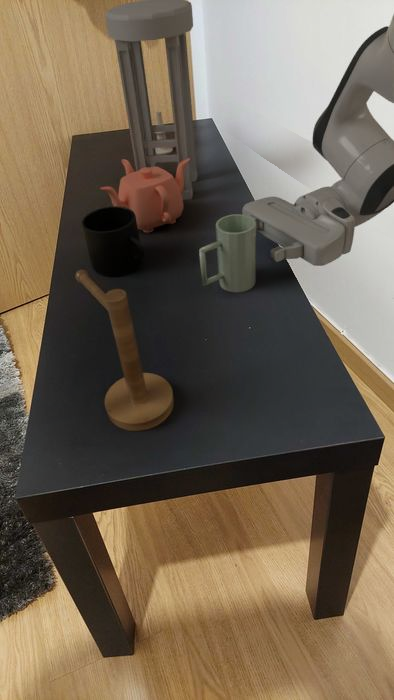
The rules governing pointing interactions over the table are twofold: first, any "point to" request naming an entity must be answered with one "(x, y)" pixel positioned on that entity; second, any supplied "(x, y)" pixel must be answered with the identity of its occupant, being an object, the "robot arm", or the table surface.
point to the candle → (161, 137)
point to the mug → (113, 240)
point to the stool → (128, 31)
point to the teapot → (150, 195)
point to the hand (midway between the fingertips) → (254, 244)
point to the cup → (233, 253)
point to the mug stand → (130, 369)
